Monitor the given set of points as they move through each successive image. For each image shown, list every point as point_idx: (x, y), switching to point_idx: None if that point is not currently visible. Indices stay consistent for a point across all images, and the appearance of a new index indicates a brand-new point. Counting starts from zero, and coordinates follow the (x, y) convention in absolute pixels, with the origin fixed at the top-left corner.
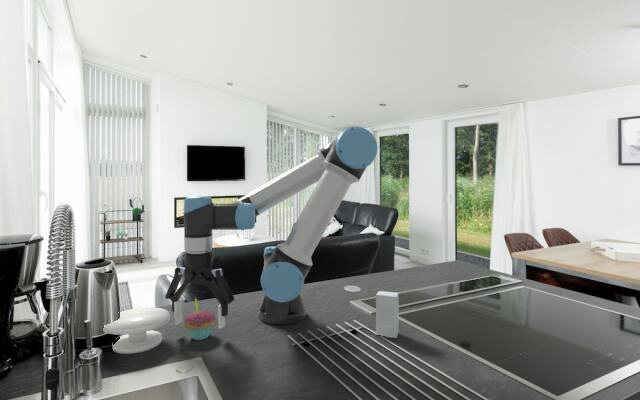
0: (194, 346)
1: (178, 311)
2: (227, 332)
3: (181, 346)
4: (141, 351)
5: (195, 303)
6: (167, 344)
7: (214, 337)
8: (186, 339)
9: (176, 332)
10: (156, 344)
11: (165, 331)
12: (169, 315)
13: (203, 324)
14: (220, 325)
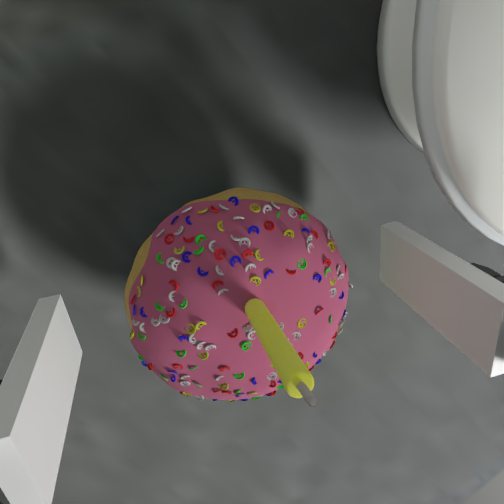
0: (151, 128)
1: (433, 281)
2: (108, 355)
3: (230, 96)
4: None
5: (289, 350)
6: (330, 87)
7: None
8: (267, 188)
9: (376, 236)
10: (383, 38)
11: (436, 221)
12: (463, 203)
13: (150, 250)
14: (35, 313)
